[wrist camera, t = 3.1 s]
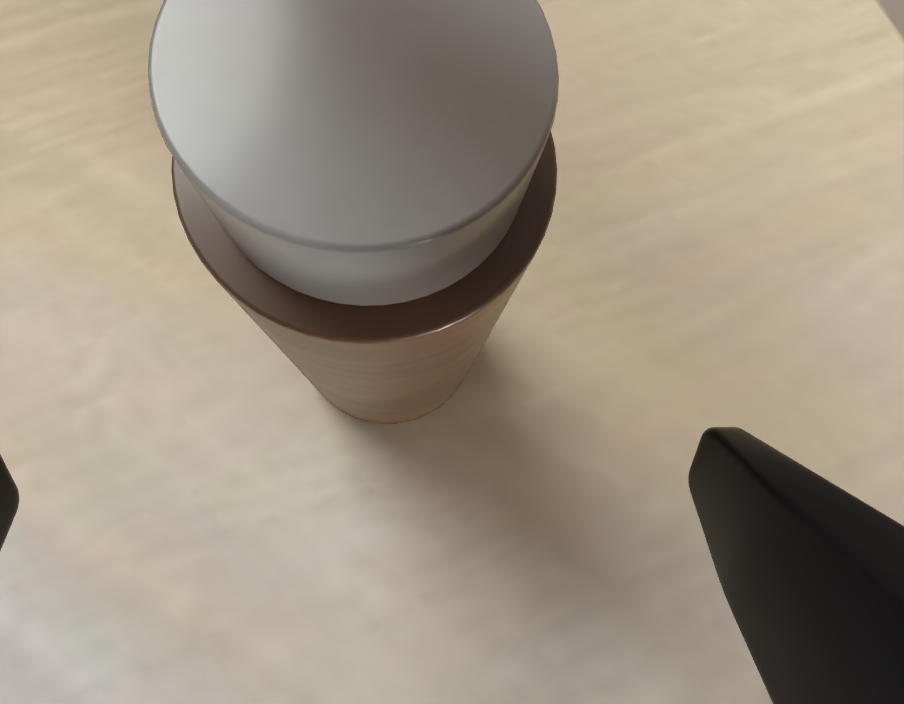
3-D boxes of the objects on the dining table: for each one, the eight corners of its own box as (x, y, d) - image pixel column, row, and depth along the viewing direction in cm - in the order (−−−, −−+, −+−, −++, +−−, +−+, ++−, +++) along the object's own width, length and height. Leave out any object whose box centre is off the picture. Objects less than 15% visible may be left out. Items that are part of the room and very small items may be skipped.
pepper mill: (400, 460, 18) (391, 409, 6) (266, 350, 19) (-21, 74, 6) (506, 328, 20) (693, 44, 7) (378, 227, 20) (334, -213, 7)
